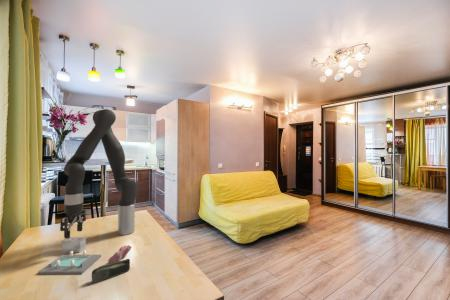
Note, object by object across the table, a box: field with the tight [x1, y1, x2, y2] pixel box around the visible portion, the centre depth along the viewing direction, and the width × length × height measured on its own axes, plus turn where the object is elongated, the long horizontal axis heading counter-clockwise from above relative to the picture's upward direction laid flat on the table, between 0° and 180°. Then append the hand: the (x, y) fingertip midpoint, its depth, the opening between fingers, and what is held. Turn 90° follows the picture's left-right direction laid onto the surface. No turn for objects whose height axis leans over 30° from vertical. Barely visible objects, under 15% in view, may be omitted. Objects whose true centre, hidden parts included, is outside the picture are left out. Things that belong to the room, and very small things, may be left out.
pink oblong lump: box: [107, 244, 132, 264], centre depth 94 cm, size 10×5×7 cm, turn 169°
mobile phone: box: [87, 258, 131, 286], centre depth 81 cm, size 5×3×15 cm
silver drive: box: [61, 236, 87, 254], centre depth 101 cm, size 4×9×6 cm, turn 91°
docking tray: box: [37, 250, 102, 275], centre depth 89 cm, size 13×18×4 cm
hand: (73, 234), depth 101 cm, fingers open, 8 cm apart
